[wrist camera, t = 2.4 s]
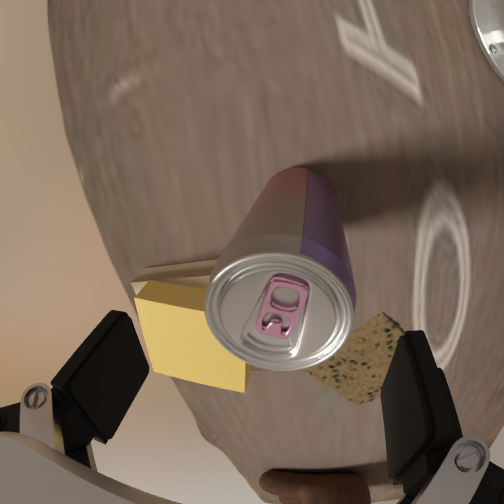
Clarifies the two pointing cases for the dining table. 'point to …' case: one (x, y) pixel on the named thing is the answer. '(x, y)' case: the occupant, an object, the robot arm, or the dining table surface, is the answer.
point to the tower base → (179, 277)
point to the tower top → (186, 337)
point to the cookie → (361, 361)
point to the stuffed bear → (316, 488)
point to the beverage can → (285, 278)
